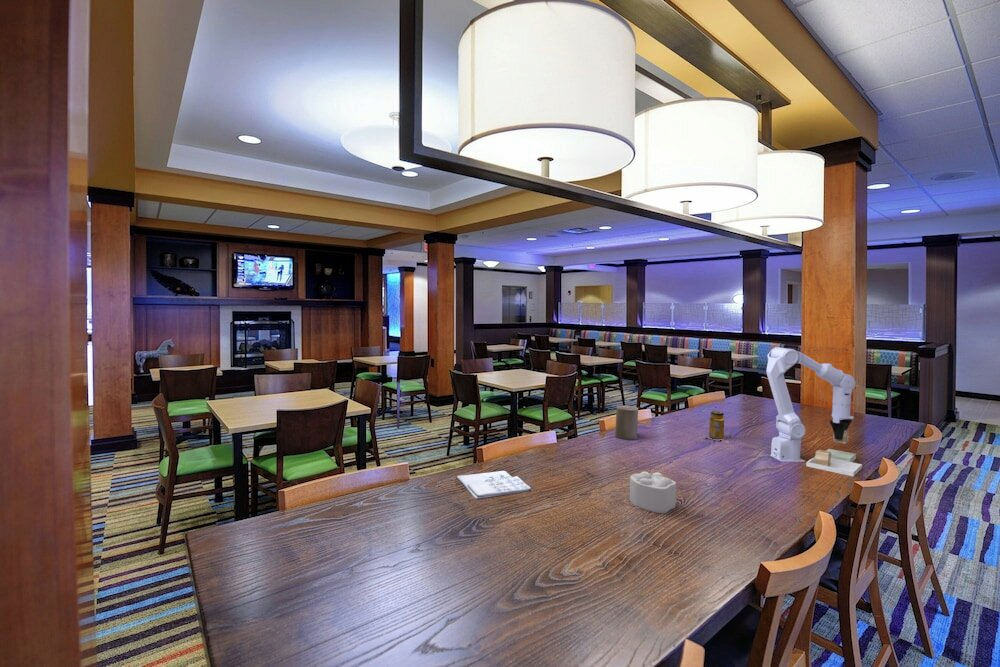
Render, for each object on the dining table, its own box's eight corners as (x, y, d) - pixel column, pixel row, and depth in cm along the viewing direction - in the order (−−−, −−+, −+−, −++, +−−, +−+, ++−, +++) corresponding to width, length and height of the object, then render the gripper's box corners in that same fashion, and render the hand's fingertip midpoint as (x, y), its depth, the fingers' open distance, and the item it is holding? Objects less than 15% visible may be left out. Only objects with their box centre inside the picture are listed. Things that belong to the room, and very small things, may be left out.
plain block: (827, 467, 175) (828, 454, 175) (815, 464, 178) (815, 451, 178) (830, 465, 178) (831, 452, 178) (818, 462, 181) (818, 449, 181)
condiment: (727, 438, 216) (727, 412, 216) (719, 442, 210) (720, 415, 210) (710, 435, 221) (711, 409, 221) (703, 438, 216) (704, 412, 215)
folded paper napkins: (475, 501, 145) (475, 494, 145) (456, 479, 163) (456, 472, 163) (531, 492, 152) (531, 486, 152) (507, 472, 171) (507, 466, 170)
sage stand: (850, 465, 180) (850, 458, 180) (822, 459, 187) (822, 453, 186) (855, 460, 186) (856, 453, 186) (828, 454, 193) (828, 448, 192)
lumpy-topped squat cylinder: (662, 515, 135) (662, 485, 134) (622, 501, 144) (622, 473, 144) (679, 505, 142) (680, 476, 141) (640, 492, 151) (640, 466, 151)
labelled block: (845, 443, 183) (846, 430, 183) (833, 441, 186) (833, 428, 186) (848, 441, 186) (848, 429, 185) (835, 439, 188) (836, 427, 188)
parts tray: (861, 469, 175) (862, 464, 175) (853, 477, 166) (853, 472, 166) (816, 460, 185) (816, 455, 185) (806, 467, 177) (806, 462, 177)
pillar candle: (617, 439, 212) (619, 406, 212) (613, 433, 222) (614, 402, 221) (639, 440, 212) (641, 407, 211) (634, 434, 222) (635, 402, 221)
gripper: (849, 408, 177) (847, 443, 178) (858, 403, 187) (856, 437, 188) (827, 405, 182) (825, 440, 183) (837, 400, 192) (835, 433, 193)
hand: (839, 438), depth 186 cm, fingers closed on labelled block, 4 cm apart
